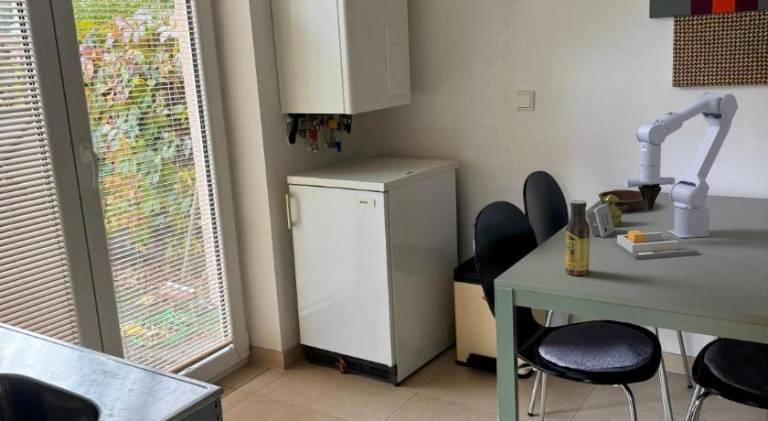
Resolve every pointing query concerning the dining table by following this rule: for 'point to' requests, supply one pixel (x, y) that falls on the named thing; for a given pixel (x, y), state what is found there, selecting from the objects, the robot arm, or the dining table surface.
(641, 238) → the block
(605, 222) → the electrical switch
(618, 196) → the dish
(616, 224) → the salt shaker
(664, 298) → the dining table surface
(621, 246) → the grey tray
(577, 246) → the sauce bottle
